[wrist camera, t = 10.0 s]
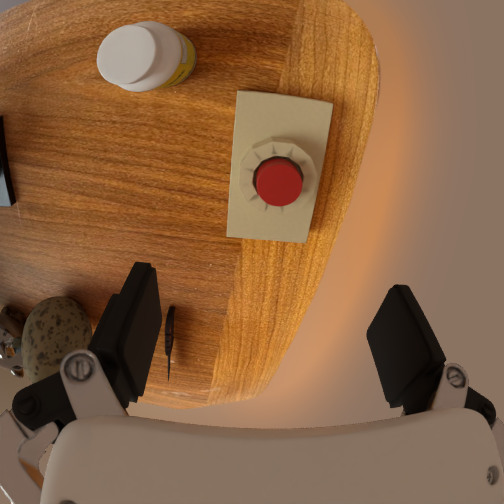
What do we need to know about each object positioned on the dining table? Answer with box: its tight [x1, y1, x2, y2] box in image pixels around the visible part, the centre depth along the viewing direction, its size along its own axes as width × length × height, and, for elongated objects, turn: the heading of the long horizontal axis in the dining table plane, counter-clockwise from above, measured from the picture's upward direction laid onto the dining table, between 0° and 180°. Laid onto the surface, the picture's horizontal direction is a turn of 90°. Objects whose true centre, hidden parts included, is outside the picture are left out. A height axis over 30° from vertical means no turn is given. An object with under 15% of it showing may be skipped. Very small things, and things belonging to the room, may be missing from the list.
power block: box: [227, 90, 333, 243], centre depth 25 cm, size 14×8×4 cm, turn 175°
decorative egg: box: [21, 297, 92, 384], centre depth 31 cm, size 11×11×15 cm
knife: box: [165, 306, 175, 381], centre depth 40 cm, size 17×1×3 cm, turn 167°
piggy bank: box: [0, 307, 25, 378], centre depth 36 cm, size 11×15×12 cm
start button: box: [256, 158, 302, 207], centre depth 22 cm, size 4×4×2 cm
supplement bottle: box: [97, 21, 196, 92], centre depth 16 cm, size 5×5×10 cm
